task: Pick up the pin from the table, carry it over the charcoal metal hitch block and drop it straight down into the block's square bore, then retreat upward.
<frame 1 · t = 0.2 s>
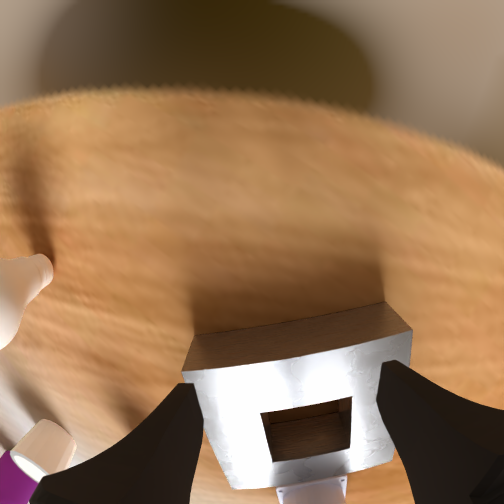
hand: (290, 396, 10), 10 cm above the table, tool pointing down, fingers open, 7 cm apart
lightbulb: (49, 265, 20), on the table
beverage can: (25, 462, 28), on the table
hitch block: (301, 394, 22), on the table
shot glass: (58, 434, 25), on the table
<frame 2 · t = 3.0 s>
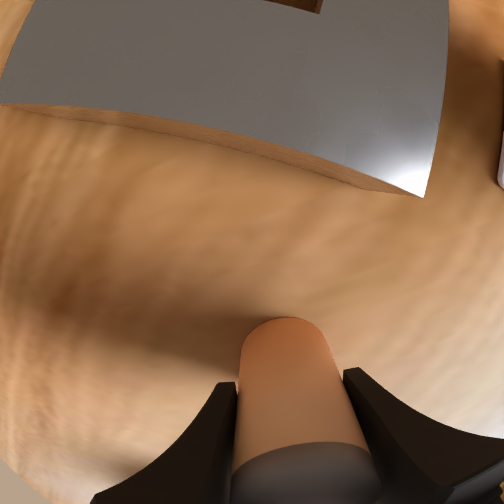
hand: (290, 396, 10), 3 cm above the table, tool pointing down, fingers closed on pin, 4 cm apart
ceramic pitcher: (469, 503, 21), on the table
pin: (284, 356, 13), on the table, touching gripper
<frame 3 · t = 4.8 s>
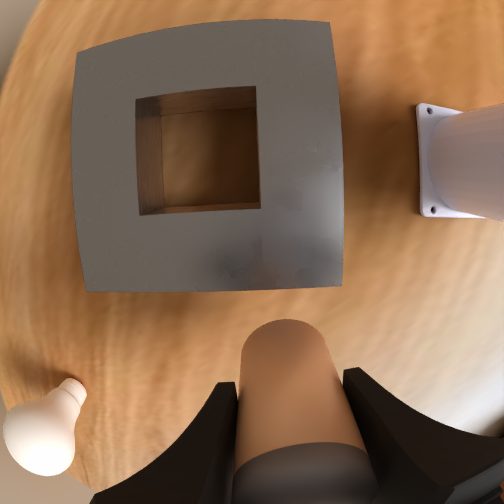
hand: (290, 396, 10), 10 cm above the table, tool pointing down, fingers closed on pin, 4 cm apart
lightbulb: (79, 383, 22), on the table
hitch block: (208, 156, 18), on the table
pin: (284, 356, 13), point 7 cm above the table, touching gripper
when the fingers open (6 cm above the table, at t = 6.9 s): pin drops 2 cm, resting in hitch block.
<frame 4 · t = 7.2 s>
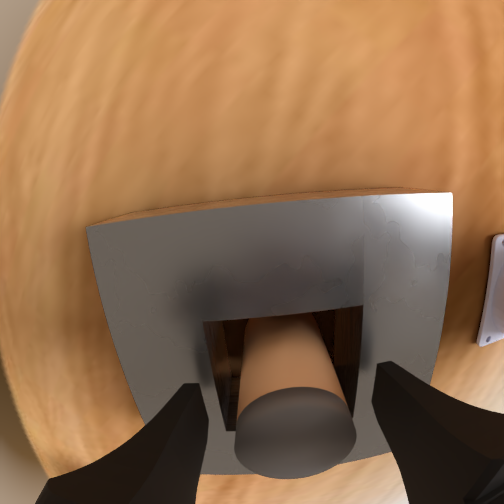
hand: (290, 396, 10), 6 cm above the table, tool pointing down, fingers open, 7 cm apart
hitch block: (280, 329, 16), on the table
pin: (281, 335, 16), resting in hitch block
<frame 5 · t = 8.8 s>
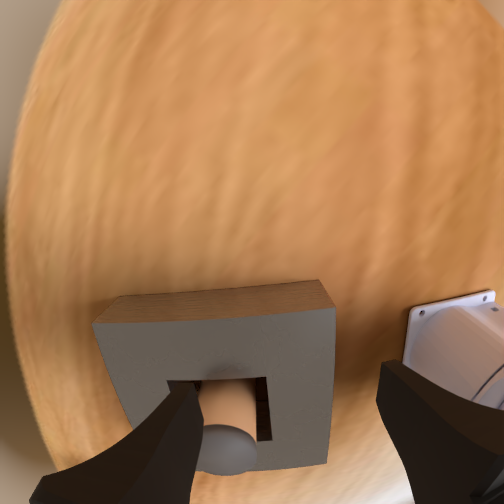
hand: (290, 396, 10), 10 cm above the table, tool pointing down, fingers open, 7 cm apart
hitch block: (227, 374, 21), on the table
pin: (229, 378, 22), resting in hitch block
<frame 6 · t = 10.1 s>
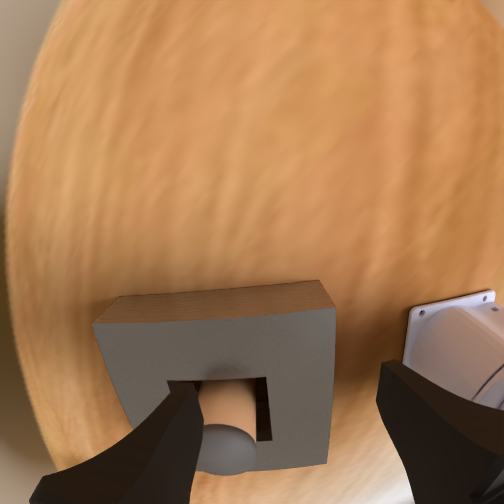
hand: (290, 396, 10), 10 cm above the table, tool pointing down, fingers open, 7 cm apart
hitch block: (227, 375, 21), on the table
pin: (229, 378, 22), resting in hitch block
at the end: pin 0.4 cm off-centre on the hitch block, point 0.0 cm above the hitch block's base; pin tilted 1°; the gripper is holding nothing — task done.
